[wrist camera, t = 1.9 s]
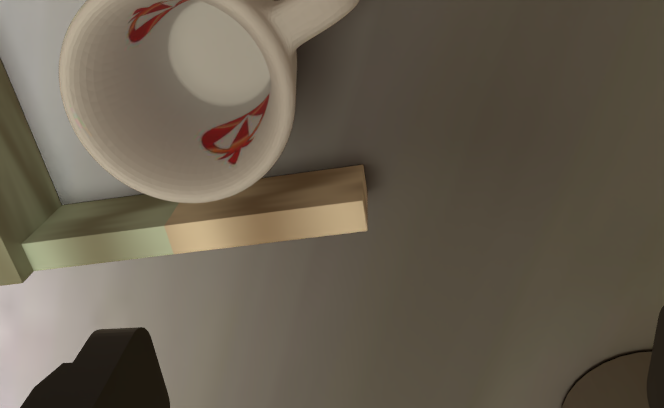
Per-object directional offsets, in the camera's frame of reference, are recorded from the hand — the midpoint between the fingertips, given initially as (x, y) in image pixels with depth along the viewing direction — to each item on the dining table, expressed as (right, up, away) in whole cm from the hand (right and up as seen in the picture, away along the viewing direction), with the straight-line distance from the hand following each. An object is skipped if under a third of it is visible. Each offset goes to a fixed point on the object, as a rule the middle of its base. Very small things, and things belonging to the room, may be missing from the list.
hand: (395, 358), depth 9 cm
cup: (-5, +10, +17) cm, 20 cm away
